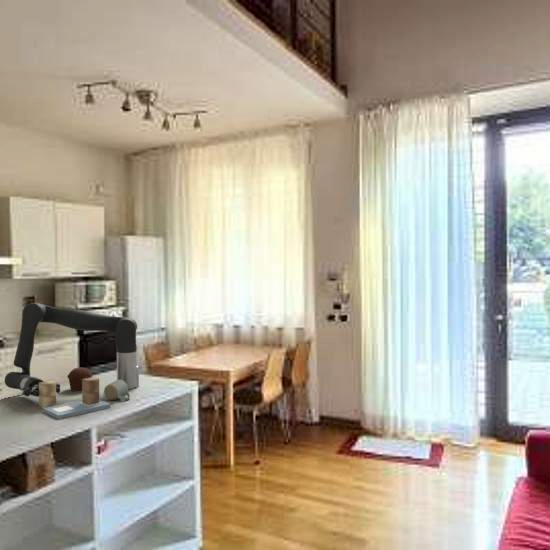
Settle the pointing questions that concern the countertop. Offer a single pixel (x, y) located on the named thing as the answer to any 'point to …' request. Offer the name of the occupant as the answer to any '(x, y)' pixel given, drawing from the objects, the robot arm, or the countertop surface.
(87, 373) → the muffin
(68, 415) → the board
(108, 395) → the ceramic mug
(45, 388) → the oak pillar
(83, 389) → the walnut pillar
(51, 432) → the countertop surface
